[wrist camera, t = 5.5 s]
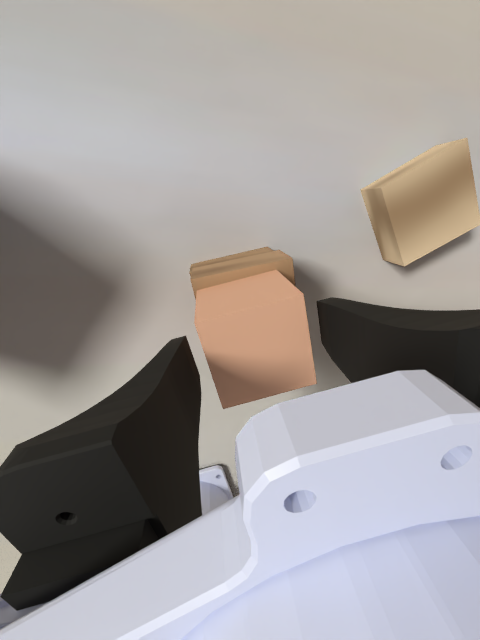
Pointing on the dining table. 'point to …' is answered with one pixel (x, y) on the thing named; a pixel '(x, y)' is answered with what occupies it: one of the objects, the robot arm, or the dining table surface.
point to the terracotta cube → (255, 337)
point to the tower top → (242, 269)
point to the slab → (423, 203)
